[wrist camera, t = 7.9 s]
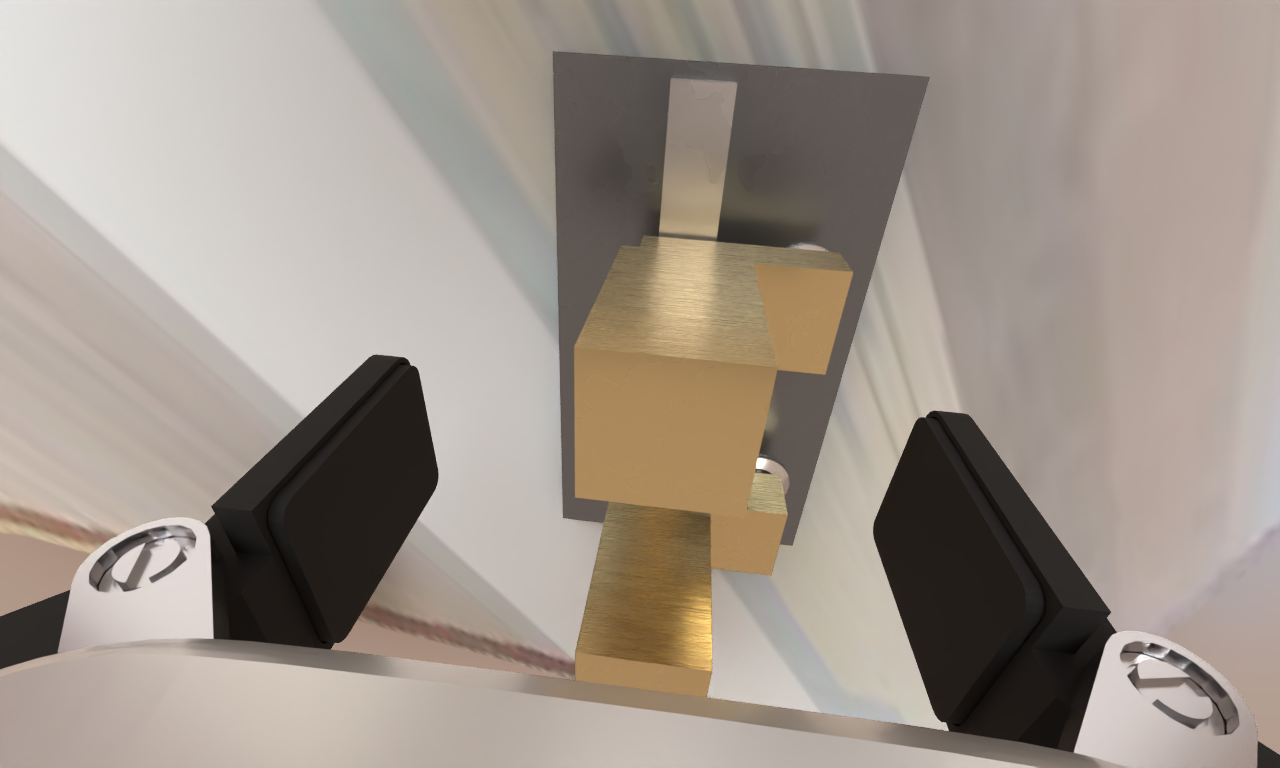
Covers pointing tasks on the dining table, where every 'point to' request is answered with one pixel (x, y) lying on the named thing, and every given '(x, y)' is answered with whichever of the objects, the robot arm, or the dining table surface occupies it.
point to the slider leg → (695, 366)
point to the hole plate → (767, 203)
